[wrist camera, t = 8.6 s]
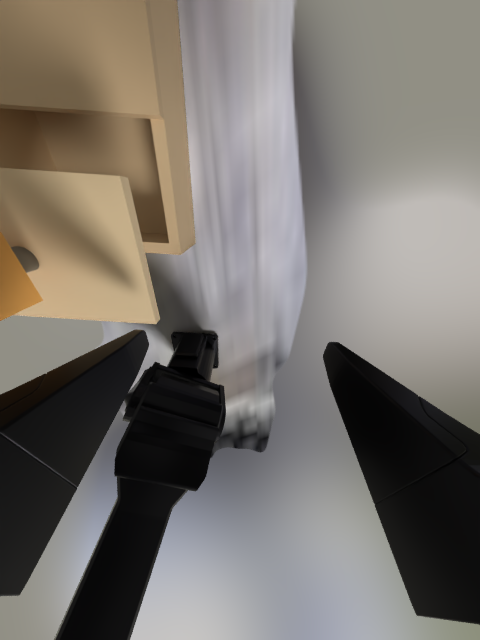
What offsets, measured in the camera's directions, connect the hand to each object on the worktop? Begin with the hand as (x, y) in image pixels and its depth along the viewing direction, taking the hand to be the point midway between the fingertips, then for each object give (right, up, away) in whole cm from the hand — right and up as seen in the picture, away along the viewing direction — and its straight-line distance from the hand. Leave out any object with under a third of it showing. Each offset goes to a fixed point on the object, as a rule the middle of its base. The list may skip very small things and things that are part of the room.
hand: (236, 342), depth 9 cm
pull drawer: (-11, +5, +1) cm, 12 cm away
